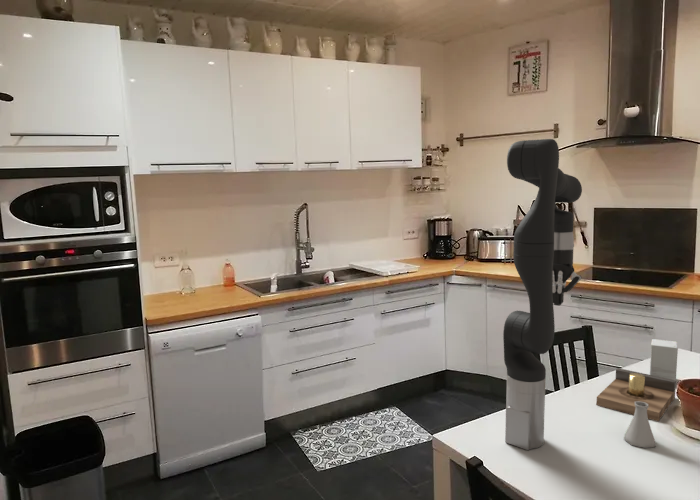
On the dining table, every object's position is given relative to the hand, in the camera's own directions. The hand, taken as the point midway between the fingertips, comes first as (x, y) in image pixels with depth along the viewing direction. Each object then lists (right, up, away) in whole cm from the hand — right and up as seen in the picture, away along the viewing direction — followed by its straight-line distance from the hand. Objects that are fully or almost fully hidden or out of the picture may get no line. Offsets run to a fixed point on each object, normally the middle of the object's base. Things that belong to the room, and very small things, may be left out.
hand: (557, 304), depth 151 cm
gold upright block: (+23, -29, 0) cm, 37 cm away
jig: (+23, -29, 0) cm, 37 cm away
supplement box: (+41, -27, +16) cm, 51 cm away
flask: (+11, -32, -22) cm, 41 cm away
